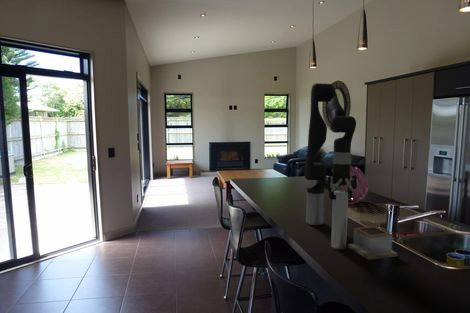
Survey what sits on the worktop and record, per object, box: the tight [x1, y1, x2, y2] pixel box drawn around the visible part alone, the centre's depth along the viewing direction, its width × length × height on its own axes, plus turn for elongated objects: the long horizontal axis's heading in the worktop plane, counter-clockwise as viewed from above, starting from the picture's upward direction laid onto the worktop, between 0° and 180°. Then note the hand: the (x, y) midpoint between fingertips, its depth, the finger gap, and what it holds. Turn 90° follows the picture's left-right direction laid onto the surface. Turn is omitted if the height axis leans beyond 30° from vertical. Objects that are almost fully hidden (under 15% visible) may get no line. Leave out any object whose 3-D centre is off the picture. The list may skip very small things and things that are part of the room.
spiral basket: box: [340, 165, 369, 205], centre depth 216 cm, size 28×28×27 cm
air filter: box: [330, 190, 349, 250], centre depth 138 cm, size 6×6×25 cm
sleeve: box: [353, 225, 393, 255], centre depth 133 cm, size 11×11×8 cm
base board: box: [347, 242, 399, 261], centre depth 134 cm, size 14×14×1 cm
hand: (340, 199), depth 137 cm, fingers open, 8 cm apart
